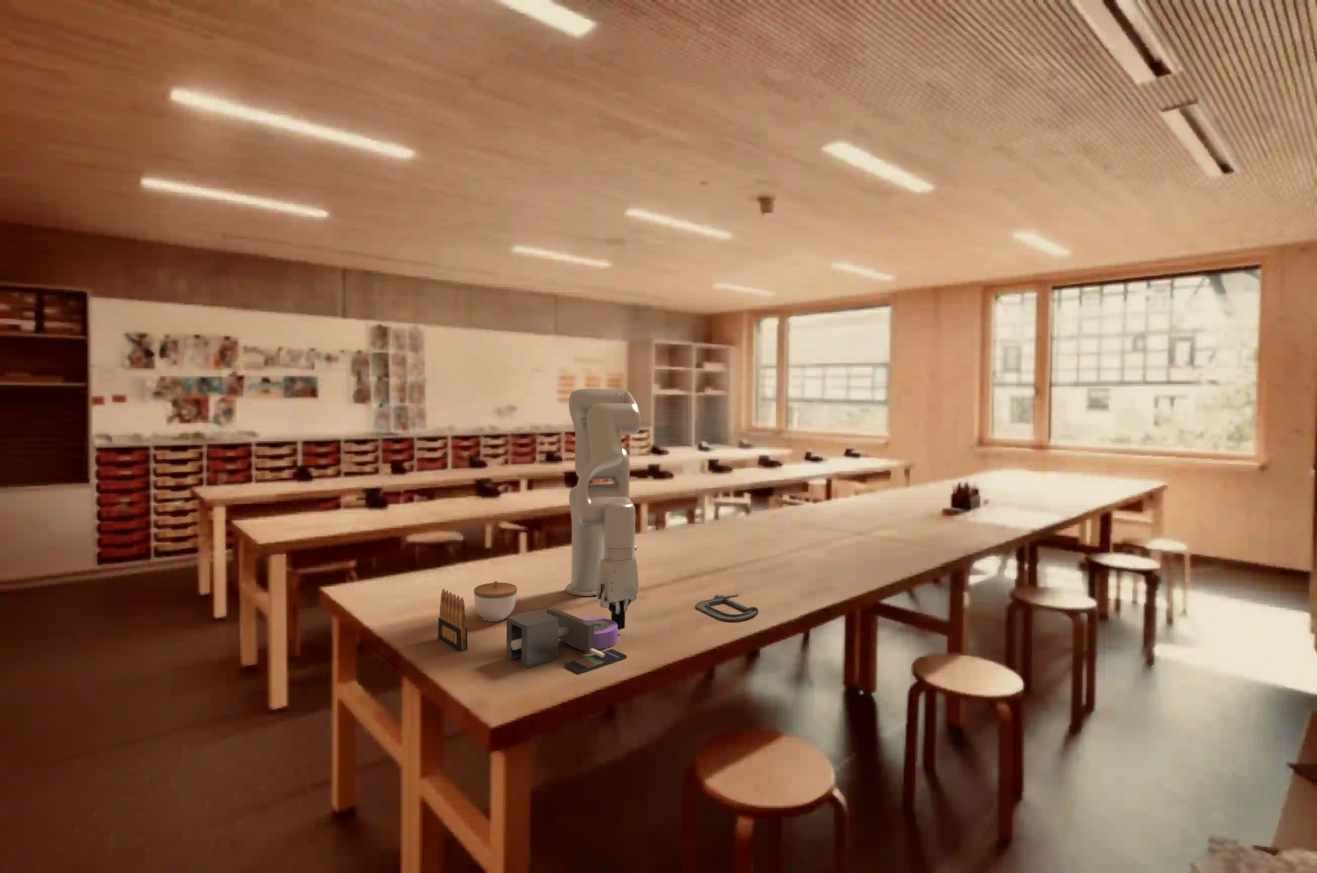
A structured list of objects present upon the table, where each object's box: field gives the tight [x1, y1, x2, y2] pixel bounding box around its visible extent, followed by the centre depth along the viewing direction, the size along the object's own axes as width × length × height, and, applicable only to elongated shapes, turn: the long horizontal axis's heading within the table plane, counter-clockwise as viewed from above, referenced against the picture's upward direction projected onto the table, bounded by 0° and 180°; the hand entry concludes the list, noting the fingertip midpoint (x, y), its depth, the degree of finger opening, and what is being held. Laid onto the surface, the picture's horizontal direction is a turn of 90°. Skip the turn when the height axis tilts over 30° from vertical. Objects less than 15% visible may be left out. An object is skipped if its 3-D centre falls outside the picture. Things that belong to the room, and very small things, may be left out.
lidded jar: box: [473, 580, 518, 622], centre depth 174 cm, size 11×11×9 cm
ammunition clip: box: [437, 588, 468, 653], centre depth 155 cm, size 11×2×12 cm, turn 44°
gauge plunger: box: [511, 606, 605, 657], centre depth 148 cm, size 16×20×6 cm
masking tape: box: [568, 617, 619, 650], centre depth 159 cm, size 12×12×4 cm
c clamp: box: [695, 593, 759, 623], centre depth 185 cm, size 20×17×3 cm
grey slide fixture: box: [505, 609, 628, 675], centre depth 148 cm, size 20×18×9 cm
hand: (618, 627), depth 164 cm, fingers closed
